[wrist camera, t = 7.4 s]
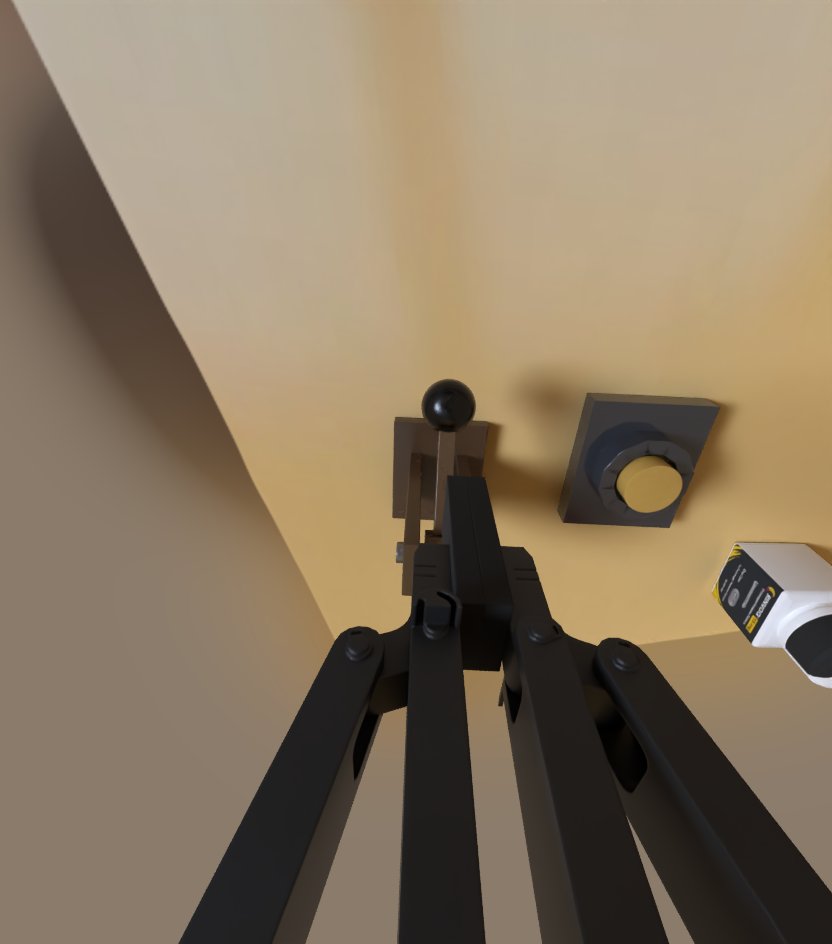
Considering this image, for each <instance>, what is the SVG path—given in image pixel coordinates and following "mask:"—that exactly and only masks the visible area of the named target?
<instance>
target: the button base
mask: <svg viewBox="0 0 832 944" xmlns="http://www.w3.org/2000/svg"><path fill="white" fill-rule="evenodd" d="M719 409H720V407H719V406H718V405H716V404H714V403H713V402H711V401H709V400H707V399H703V398H683V397H662V396H642V395H622V394H601V393H587V395H586V399H585V403H584V407H583V411H582V415H581V419H580V423H579V427H578V431H577V435H576V439H575V442H574V446H573V450H572V454H571V458H570V462H569V466H568V470H567V474H566V478H565V482H564V486H563V490H562V494H561V498H560V502H559V506H558V510H557V511H558V513H559V516H560V518H561V520H562V522H563V523H577V524H597V525H618V526H638V527H659V528H670V525H671V523H672V520H673V518H674V516H675V513H676V511H677V509H678V506H679V504H680V501H681V499H682V497H683V495H684V494H685V493H686V491H687V489H688V486H689V484H690V481H691V479H692V477H693V474H694V472H693V471H694V468H695V466H696V463H697V461H698V459H699V456H700V454H701V452H702V449H703V447H704V445H705V442H706V440H707V437H708V435H709V433H710V430H711V428H712V426H713V423H714V421H715V418H716V416H717V414H718V411H719ZM644 456H657V457H660V458H663V459H664V460H666V461H667V462H668V463H669V464H670V465H671V466H672V467H673V468H674V469H675V470H676V471H677V472H678V473H679V474H680V476H681V478H682V489H681V492H680V494H679V495H678V497H677V498H676V499H675V501H673V502H672V503H671V504H670V505H669V506H667V507H665V508H663V509H661V510H659V511H655V512H649V513H644V512H638V511H636V510H633V509H632V508H630V507H629V506H628V504H627V503H626V502H625V500H624V499H623V498H622V496H621V495H620V494H619V492H618V490H617V478H618V475H619V473H620V472H621V470H622V469H623V468H624V467H625V466H626V465H627V464H628V463H630V462H631V461H633V460H635V459H637V458H640V457H644Z"/></svg>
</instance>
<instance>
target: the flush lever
mask: <svg viewBox="0 0 832 944" xmlns="http://www.w3.org/2000/svg"><path fill="white" fill-rule="evenodd" d="M421 407H422V414H423V417H424V419H425V421H426V423H427V424H428V425H429V426H430V427H431V428H432V429H434V430H435V431H437V432H439V433H438V453H437V472H436V491H435V510H434V529H433V530H425V543H428V544H443V542H442V524H443V513H444V502H445V491H446V481H447V475H452V476H454V459H455V441H456V433H457V432H459V431H461V430H463V429H464V428H466V427H467V426H468V425H469V424H470V422H471V421H472V419H473V417H474V414H475V410H476V402H475V398H474V395H473V393H472V391H471V390H470V389H469V388H468V387H467V386H466V385H465V384H464V383H462V382H460V381H458V380H454V379H444V380H440V381H438V382H436V383H434V384H433V385H431V386H430V387H429V388H428V390H427V391H426V392H425V394H424V396H423V399H422V405H421Z"/></svg>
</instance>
